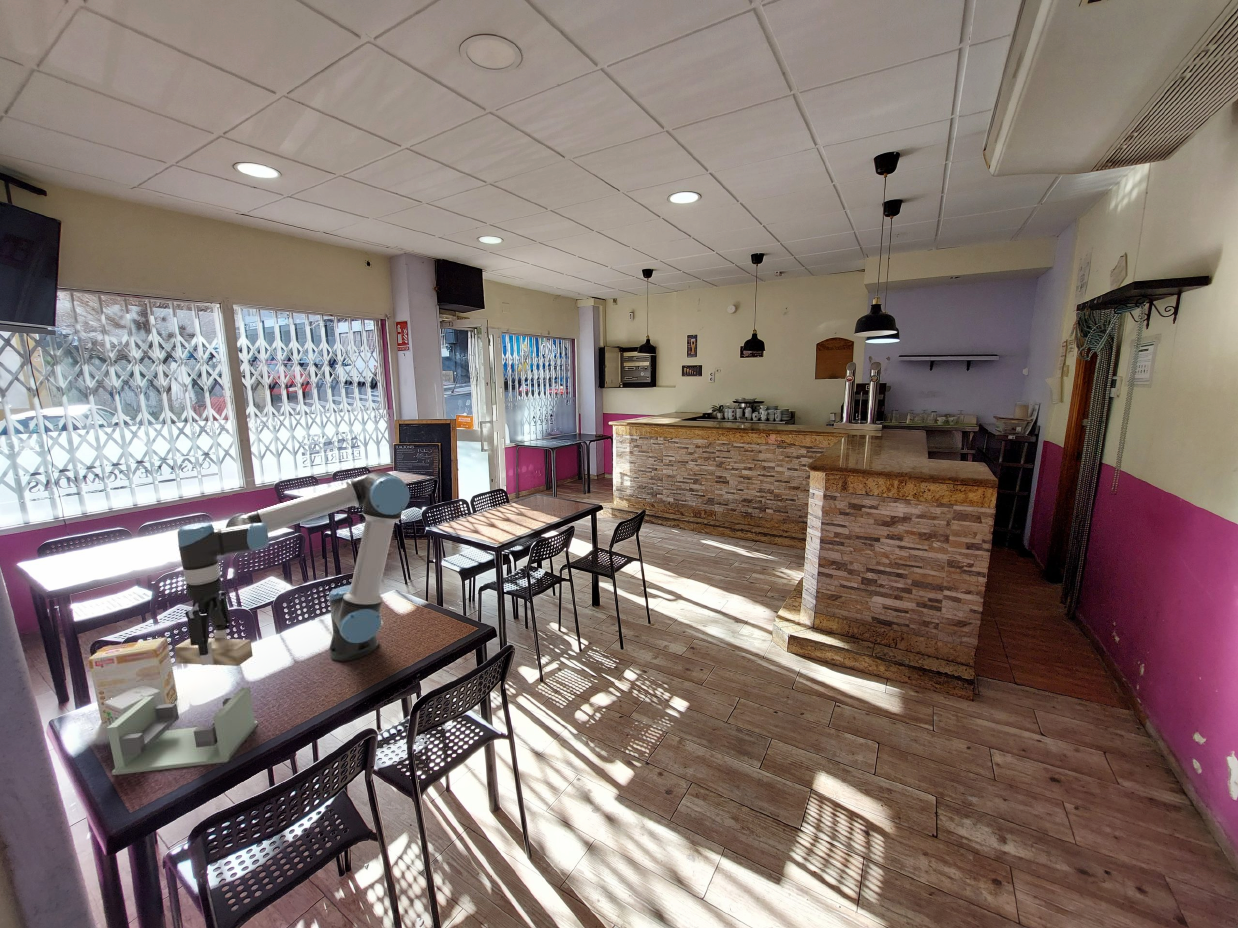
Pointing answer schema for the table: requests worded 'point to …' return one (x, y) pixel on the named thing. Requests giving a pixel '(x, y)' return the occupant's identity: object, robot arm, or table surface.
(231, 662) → the rail
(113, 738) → the bracket stand
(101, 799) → the table surface
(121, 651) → the coffeecake box
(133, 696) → the ink box
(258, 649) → the table surface
